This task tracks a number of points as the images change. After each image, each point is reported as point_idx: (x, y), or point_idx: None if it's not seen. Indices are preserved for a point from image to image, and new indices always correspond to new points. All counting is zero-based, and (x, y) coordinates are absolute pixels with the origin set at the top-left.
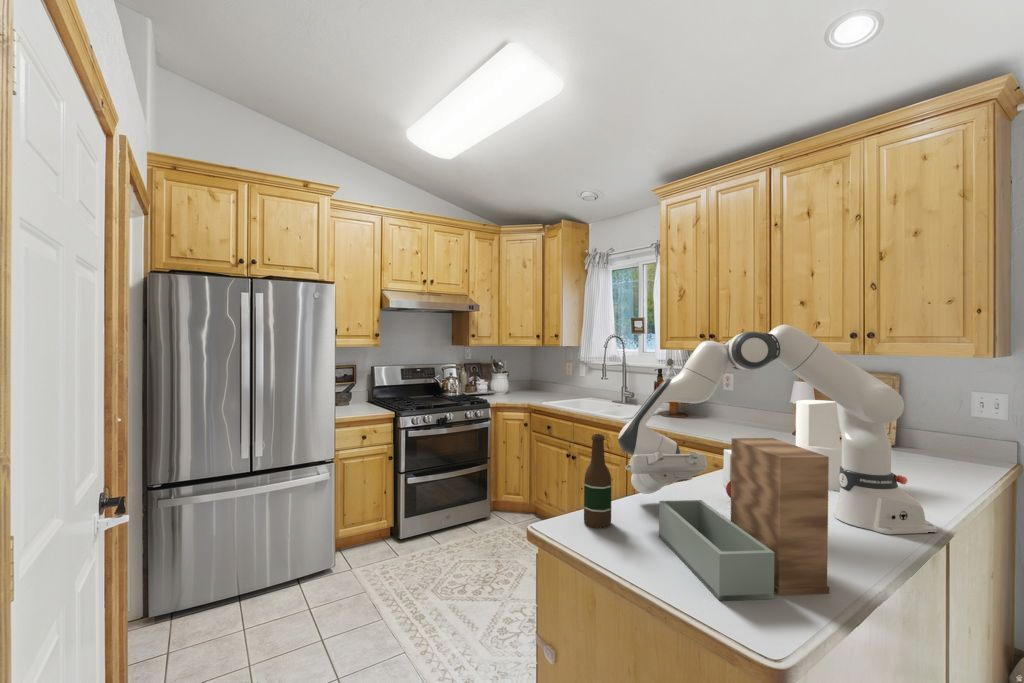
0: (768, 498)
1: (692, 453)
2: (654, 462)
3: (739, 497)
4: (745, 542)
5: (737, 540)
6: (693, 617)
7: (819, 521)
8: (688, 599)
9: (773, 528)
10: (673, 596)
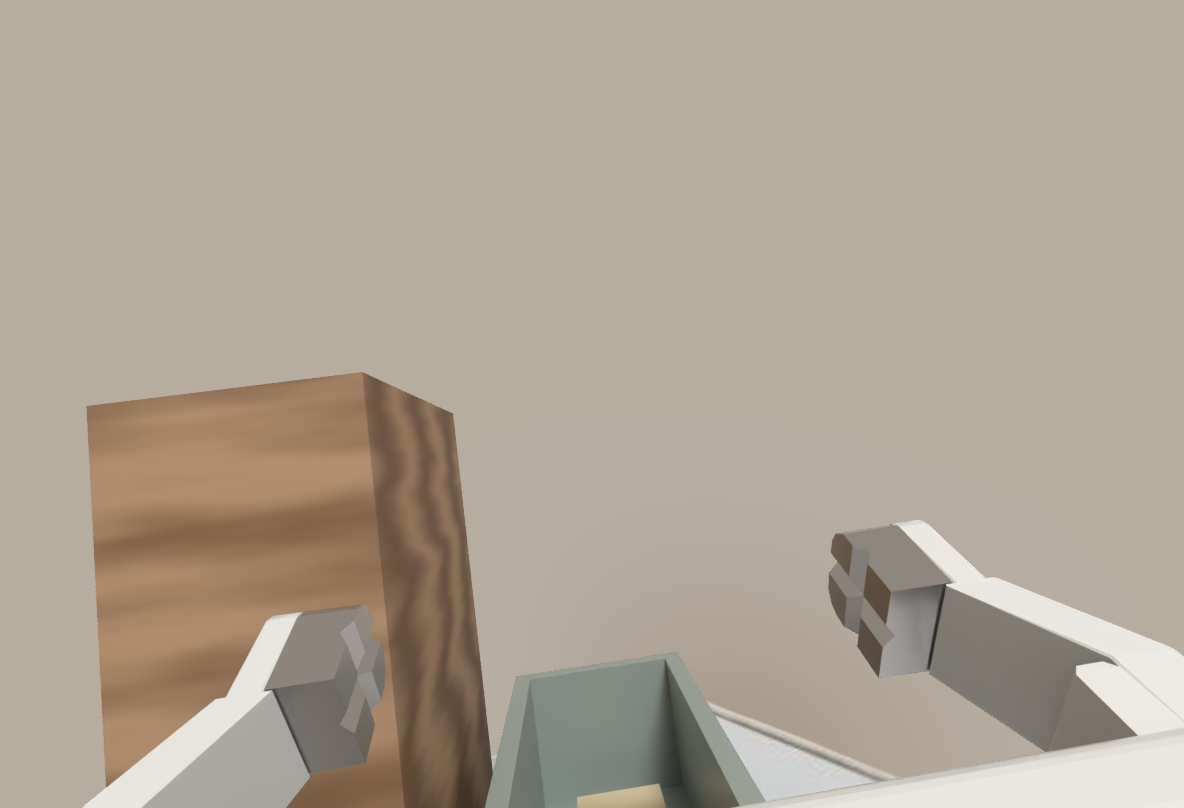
0: (458, 562)
1: (367, 616)
2: (1016, 731)
3: (420, 685)
4: (525, 757)
5: (523, 805)
6: (778, 740)
7: None
8: (783, 785)
9: (473, 646)
10: (828, 789)
